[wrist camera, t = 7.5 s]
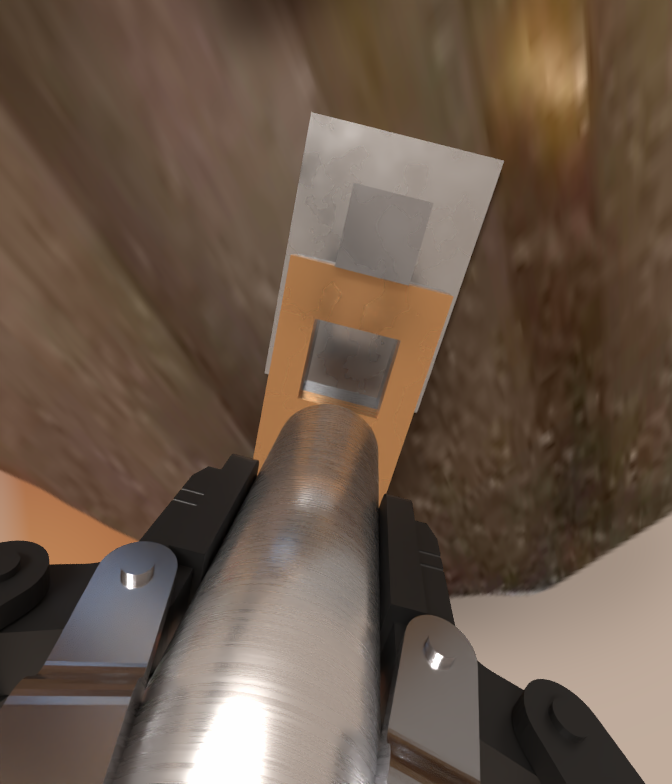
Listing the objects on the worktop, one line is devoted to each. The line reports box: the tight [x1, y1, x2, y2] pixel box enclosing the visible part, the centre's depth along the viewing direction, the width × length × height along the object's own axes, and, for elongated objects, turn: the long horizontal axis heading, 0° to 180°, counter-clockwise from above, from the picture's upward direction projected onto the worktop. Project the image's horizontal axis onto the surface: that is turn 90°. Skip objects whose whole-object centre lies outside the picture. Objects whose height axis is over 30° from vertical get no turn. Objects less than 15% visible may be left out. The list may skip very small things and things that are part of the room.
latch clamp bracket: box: [253, 112, 504, 506], centre depth 27 cm, size 24×14×12 cm, turn 167°
